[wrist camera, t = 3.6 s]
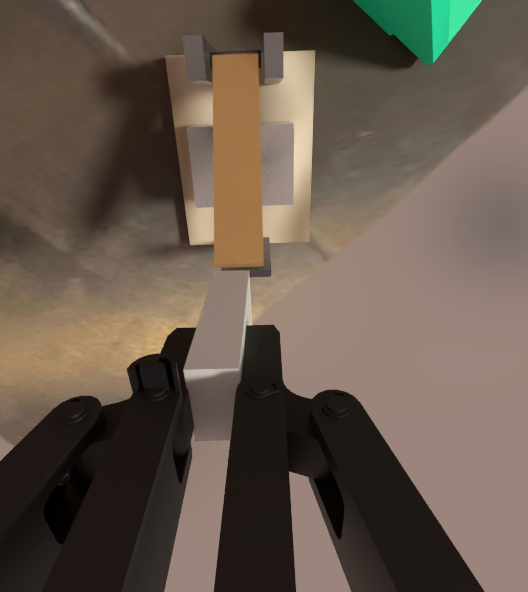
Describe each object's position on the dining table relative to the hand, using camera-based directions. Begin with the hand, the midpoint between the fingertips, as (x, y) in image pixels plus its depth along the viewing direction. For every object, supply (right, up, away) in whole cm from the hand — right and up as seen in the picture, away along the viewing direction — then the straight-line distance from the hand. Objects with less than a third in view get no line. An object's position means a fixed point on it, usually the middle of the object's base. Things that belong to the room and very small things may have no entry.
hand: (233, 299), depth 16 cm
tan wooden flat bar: (0, +9, +8) cm, 12 cm away
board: (0, +13, +18) cm, 22 cm away
